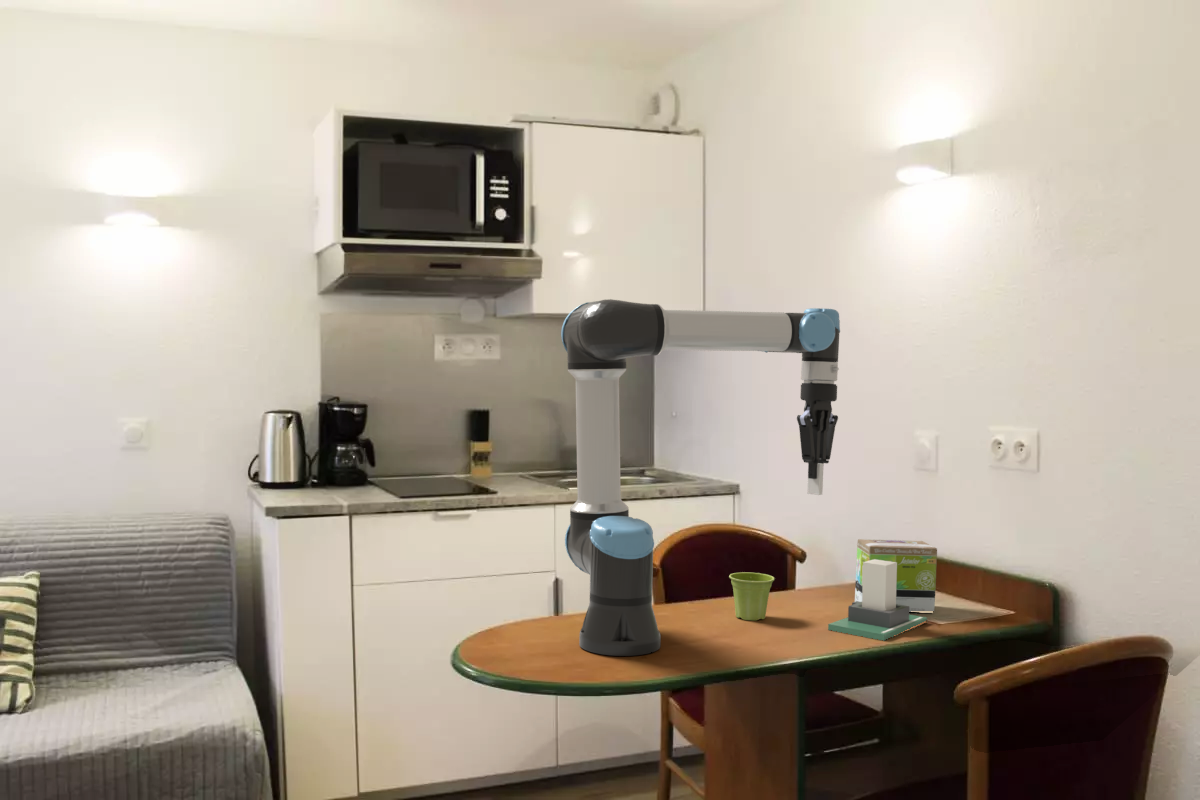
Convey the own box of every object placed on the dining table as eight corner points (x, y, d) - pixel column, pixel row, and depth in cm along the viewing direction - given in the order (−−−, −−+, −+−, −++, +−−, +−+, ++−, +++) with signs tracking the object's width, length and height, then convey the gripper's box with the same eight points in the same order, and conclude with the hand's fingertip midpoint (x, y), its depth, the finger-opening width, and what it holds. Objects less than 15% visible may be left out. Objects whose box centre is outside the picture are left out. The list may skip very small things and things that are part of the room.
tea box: (867, 613, 226) (868, 545, 225) (854, 603, 236) (855, 538, 235) (936, 614, 226) (937, 546, 226) (920, 604, 236) (922, 539, 236)
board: (883, 640, 202) (884, 619, 202) (828, 630, 210) (828, 609, 210) (927, 623, 218) (927, 603, 217) (873, 613, 225) (874, 594, 225)
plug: (884, 625, 210) (886, 565, 210) (858, 620, 214) (859, 561, 214) (895, 620, 214) (897, 562, 214) (869, 616, 218) (870, 558, 218)
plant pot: (771, 613, 224) (772, 573, 224) (774, 623, 215) (775, 581, 215) (727, 611, 225) (728, 571, 225) (728, 622, 216) (729, 580, 215)
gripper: (818, 382, 213) (814, 497, 214) (850, 383, 223) (846, 494, 223) (786, 381, 218) (782, 494, 219) (819, 382, 228) (815, 490, 228)
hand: (814, 493), depth 221 cm, fingers closed
